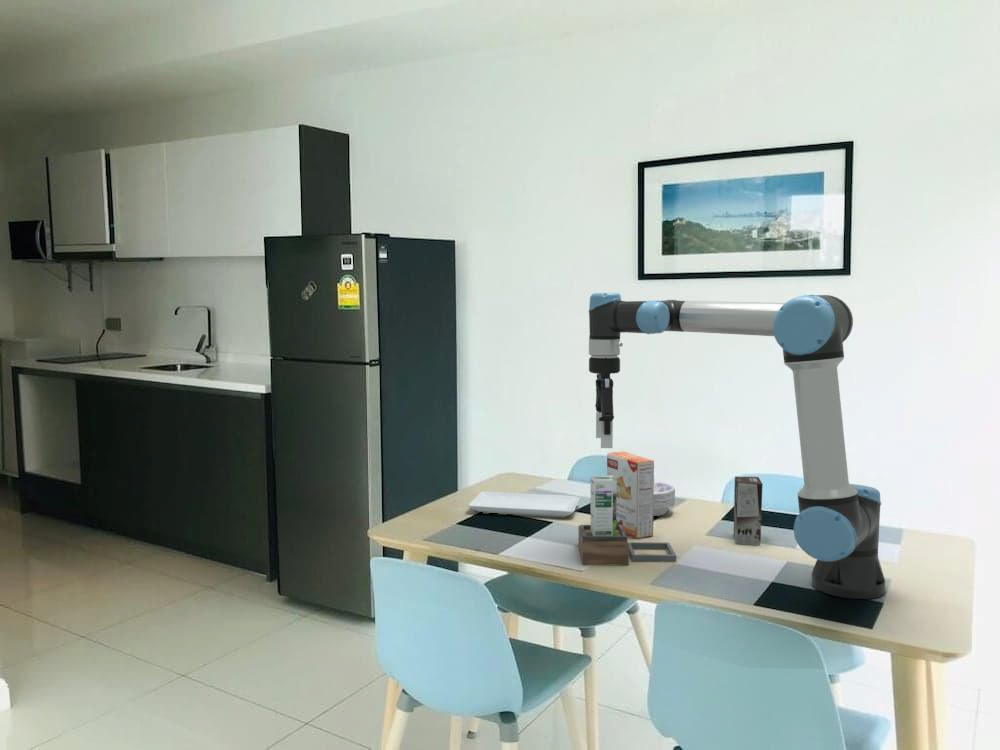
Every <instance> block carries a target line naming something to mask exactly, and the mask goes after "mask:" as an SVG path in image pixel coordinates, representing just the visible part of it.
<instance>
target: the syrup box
mask: <svg viewBox="0 0 1000 750" xmlns="http://www.w3.org/2000/svg"><path fill="white" fill-rule="evenodd" d="M589 482H590V525H591V533H592V535H593V536H616V508H617V481H616V479H615V477H614V476H613V475H612V476H607V475H591V476H590V481H589Z"/></svg>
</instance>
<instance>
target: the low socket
mask: <svg viewBox="0 0 1000 750" xmlns="http://www.w3.org/2000/svg"><path fill="white" fill-rule="evenodd" d="M628 544H629V557H630V559H631V562H638V561H640V562H642V561H643V562H645V563H647V562H649V563H650V562H653V563H655V562H658V563H662V562H661V561H664V562H663V563H665V561H666V562H667V561H668V562H669V563H673V562H674V563H677V555H676V552H675V551H674V549H673V546H672V545H671V544H670V542H657V541H655V542H651V541H650V542H645V541H643V542H640V541H639V542H638V541H637V542H636V541H634V542H633V541H628ZM666 549H667V550H666ZM634 550H666V552H667V551H668V552H667V553H668V554H645V553H644V554H636V553H635V551H634ZM668 562H667V563H668Z"/></svg>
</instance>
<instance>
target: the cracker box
mask: <svg viewBox="0 0 1000 750" xmlns="http://www.w3.org/2000/svg"><path fill="white" fill-rule="evenodd" d="M606 456H607V457H606V476H612V475H613V476H614V477H615V479H616V481H617V508H616V525H622V527H623V529H624V532H625V534H626V536H630V537H632V538H633V539H635V540H639V539H643V538H648V537H653V536H654V517H653V495H654V482H655V476H654V475H655V460H653V459H649V458H645V457H642V456H639V455H636V454H633V453H630V452H626V451H615V452H613V451H612V452H609V453H608V452H607V453H606ZM638 538H639V539H638Z"/></svg>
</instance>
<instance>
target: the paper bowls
mask: <svg viewBox="0 0 1000 750" xmlns="http://www.w3.org/2000/svg"><path fill="white" fill-rule="evenodd" d="M674 505H676V488H675V487H674V486H673V485H671V484H669V483H664V482H657V481H654V495H653V516H657V517H661V515H662V516H664V515H666V514H667V512H668V510H669V508H671V507H673V506H674Z"/></svg>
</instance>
